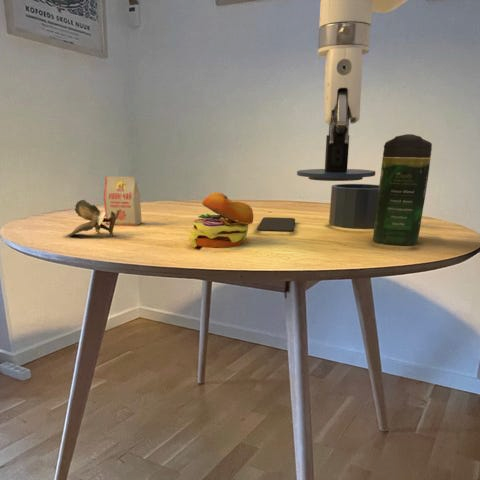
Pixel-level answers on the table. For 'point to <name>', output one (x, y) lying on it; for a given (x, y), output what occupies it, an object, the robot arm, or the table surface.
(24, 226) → the table surface
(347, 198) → the pot
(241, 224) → the cheeseburger
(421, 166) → the coffee jar
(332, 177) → the lid
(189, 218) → the table surface
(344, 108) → the robot arm
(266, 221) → the phone
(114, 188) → the paper takeout bag
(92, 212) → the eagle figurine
